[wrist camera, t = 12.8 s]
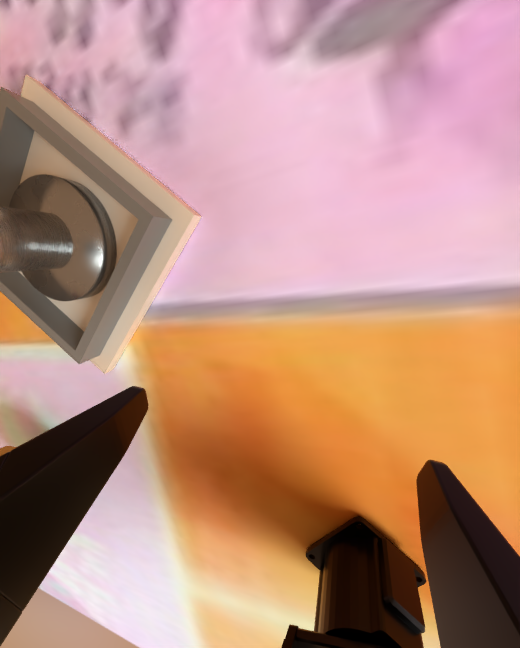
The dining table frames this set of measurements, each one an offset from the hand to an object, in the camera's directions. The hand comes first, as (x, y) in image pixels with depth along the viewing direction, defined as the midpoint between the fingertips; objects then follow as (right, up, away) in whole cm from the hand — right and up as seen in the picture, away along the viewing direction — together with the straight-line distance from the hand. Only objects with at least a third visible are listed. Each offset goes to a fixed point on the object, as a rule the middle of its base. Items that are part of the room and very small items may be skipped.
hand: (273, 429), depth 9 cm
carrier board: (-15, +10, +14) cm, 23 cm away
